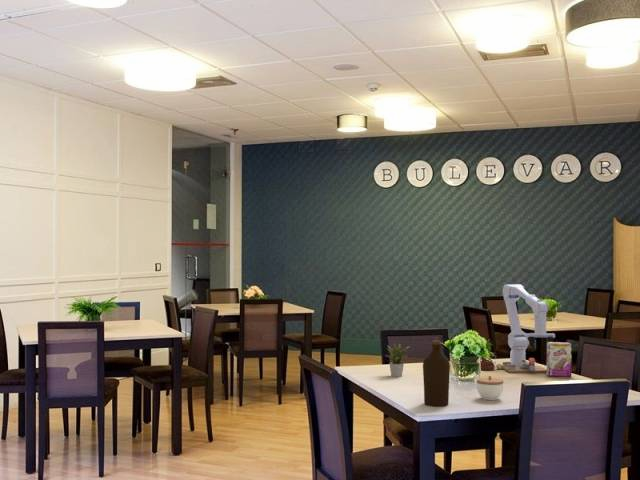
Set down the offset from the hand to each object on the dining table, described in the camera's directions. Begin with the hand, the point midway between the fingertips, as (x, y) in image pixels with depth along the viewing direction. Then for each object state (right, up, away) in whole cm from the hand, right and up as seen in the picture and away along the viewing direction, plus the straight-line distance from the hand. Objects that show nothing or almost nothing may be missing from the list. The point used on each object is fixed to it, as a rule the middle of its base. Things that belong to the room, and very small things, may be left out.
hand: (540, 351), depth 364 cm
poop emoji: (-27, -10, +3) cm, 29 cm away
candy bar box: (+4, -10, -16) cm, 19 cm away
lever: (-8, -8, -2) cm, 12 cm away
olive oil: (-68, -8, -85) cm, 109 cm away
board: (-8, -10, 0) cm, 13 cm away
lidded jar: (-44, -8, -74) cm, 86 cm away
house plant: (-76, -9, -20) cm, 79 cm away
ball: (-21, -9, +3) cm, 23 cm away
